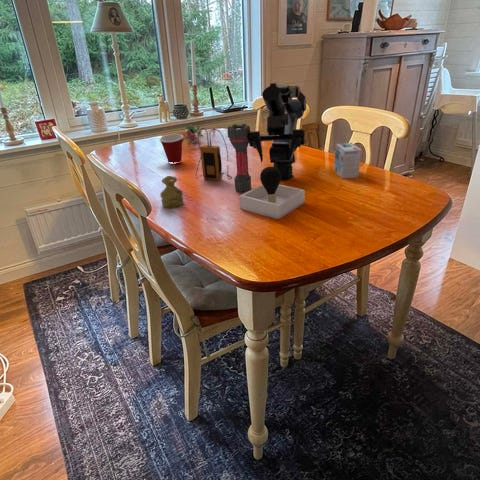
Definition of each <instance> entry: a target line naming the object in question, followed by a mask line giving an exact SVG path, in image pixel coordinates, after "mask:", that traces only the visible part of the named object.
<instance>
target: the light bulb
mask: <svg viewBox="0 0 480 480" xmlns="http://www.w3.org/2000/svg"><path fill="white" fill-rule="evenodd" d="M259 177H260V178H259V179H260V182H261V185H263V186H264V188H265V189H266V191H267V196H268V202H271V203H275V201H276V193H275V192H276V190H277V188H278V186H279V185H281V182H282V180H281V173H280V171H279V169H277V168H276V167H274V166H267V167H264V168H263V169H262V170H261V171H260V174H259Z"/></svg>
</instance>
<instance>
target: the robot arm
mask: <svg viewBox="0 0 480 480" xmlns="http://www.w3.org/2000/svg"><path fill="white" fill-rule="evenodd" d="M301 91H302V90H301V87H300V86H298V85H289V84H288V85H287V84H285V85H278V84H277V83H276V82H272V83H271V82H270V84H269V85H268V86H267V87H266V88H264V89H263V91H262V93H261V96H262V99H263V102H264V105H265V107H266V110H268V116H267V117H266V121H267V123H266V132H267V134H261V131H260V130H258V131H256V130H255V131H251V130H250V132H249V133H248V142H249V143H248V146H249V147H251V148H253V149H256V151H257V153H258V156H259V159H260V162H261V163H263V161H264V156H263V146H262V142H272V143H271V146H270V147H269V152H268V153H269V162H270V164H273V167H276V168H277V169H279V171H280V173H281V181H287V180H289V179H291V178H293V177H294V174H293V166H292V164H295V163H296V154H295V152H296V151H297V149H298V148H300V147H301V146H303V145H305V144H306V142H305V139H306V134H305V132H306V130H305V129H303V128H297V129H296V125H297V123H298V120H299V119H301V118H302V117H303V116H304V114H305V112H306V111H307V100H306V98H307V97H306V95H305V94H304V93H303V92H301ZM293 98H294V99H293Z"/></svg>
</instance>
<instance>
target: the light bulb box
mask: <svg viewBox="0 0 480 480" xmlns="http://www.w3.org/2000/svg"><path fill="white" fill-rule="evenodd" d="M334 150H335V151H334V159H333V160H334V161H333V162H334V163H333V171H334V172H335V173H336V174H337V175H338V176H339V177H340V178H341V179H354V178H359V175H360V167H361V166H360V165H361V159H362V149H361V148H360V147H358V146H357V145H356V144H354V143H353V142H346V143H345V142H344V143H335V149H334Z"/></svg>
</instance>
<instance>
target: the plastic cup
mask: <svg viewBox="0 0 480 480" xmlns="http://www.w3.org/2000/svg"><path fill="white" fill-rule="evenodd" d="M183 135H184V134H179V133H171V134H166V135H163V136H161V137H160V138H159V139H158V141H159V142H160V143H161V145H162V147H163V151H164V153H165V157H166V158H167V163H169V162H173V163H174V162H180V161H181V162H182V155H183V142H182V139H184V137H183Z"/></svg>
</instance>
